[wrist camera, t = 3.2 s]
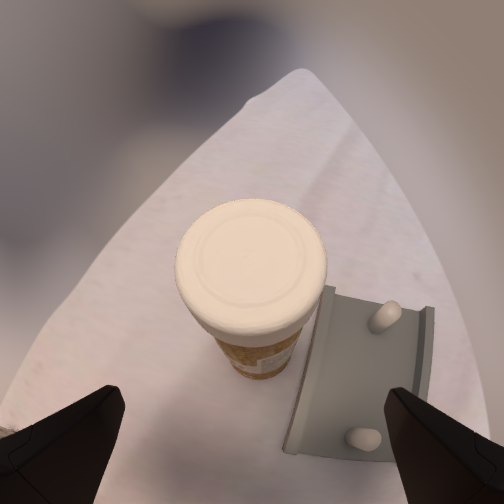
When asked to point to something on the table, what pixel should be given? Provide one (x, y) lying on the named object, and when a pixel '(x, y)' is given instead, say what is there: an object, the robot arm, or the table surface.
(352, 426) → the tray
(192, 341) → the table surface
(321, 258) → the sprinkles bottle
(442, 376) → the table surface
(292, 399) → the table surface
